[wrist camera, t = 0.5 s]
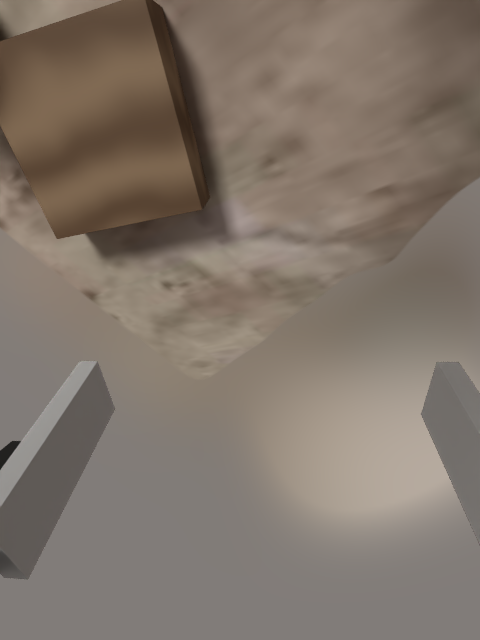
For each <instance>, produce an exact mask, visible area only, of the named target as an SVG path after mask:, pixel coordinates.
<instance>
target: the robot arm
mask: <svg viewBox="0 0 480 640" xmlns="http://www.w3.org/2000/svg"><path fill="white" fill-rule="evenodd" d="M114 410H115V407H114V405H113V402H112V399H111V396H110V394H109V391H108V388H107V386H106V383H105V380H104V378H103V375H102V372H101V369H100V367H99V364H98V362H97V361H80V362H79V363H78V364H77V366H76V367H75V369H74V370H73V372H72V373H71V374H70V375H69V377H68V378H67V380H66V381H65V382H64V384H63V385H62V386H61V388H60V389H59V391H58V392H57V393H56V395H55V396H54V397H53V399H52V400H51V401H50V403H49V404H48V406H47V407H46V409H45V410H44V411H43V413H42V414H41V415H40V417H39V418H38V419H37V421H36V422H35V423H34V425H33V426H32V427H31V429H30V430H29V432H28V433H27V434H26V436H25V437H24V438H23V440H22V441H12V442H10V443H9V444H8V445H7V446H5V447H4V448H3V449H2V450H1V451H0V574H1V575H2V576H3V577H4V578H17V579H28V578H29V577H30V575H31V572H32V571H33V569H34V566H35V565H36V563H37V561H38V559H39V557H40V555H41V553H42V551H43V549H44V547H45V545H46V543H47V541H48V539H49V537H50V535H51V533H52V531H53V529H54V528H55V526H56V524H57V521H58V520H59V518H60V516H61V514H62V512H63V510H64V508H65V506H66V504H67V502H68V500H69V498H70V496H71V494H72V492H73V490H74V488H75V486H76V484H77V482H78V481H79V479H80V477H81V475H82V473H83V471H84V469H85V467H86V465H87V463H88V461H89V459H90V457H91V455H92V453H93V451H94V449H95V447H96V445H97V443H98V441H99V439H100V437H101V435H102V434H103V431H104V430H105V428H106V426H107V424H108V422H109V420H110V418H111V416H112V414H113V412H114ZM421 415H422V418H423V420H424V422H425V424H426V426H427V428H428V431H429V433H430V435H431V438H432V440H433V442H434V444H435V446H436V449H437V451H438V453H439V455H440V457H441V460H442V462H443V464H444V467H445V469H446V471H447V473H448V475H449V478H450V480H451V482H452V484H453V487H454V489H455V491H456V493H457V495H458V498H459V500H460V502H461V505H462V507H463V509H464V511H465V514H466V516H467V518H468V520H469V522H470V525H471V527H472V529H473V531H474V533H475V536H476V538H477V540H478V543H479V545H480V393H479V391H478V390H477V388H476V387H475V385H474V384H473V382H472V381H471V379H470V378H469V376H468V375H467V374H466V372H465V371H464V369H463V368H462V366H461V365H460V363H459V362H437V363H436V366H435V370H434V373H433V377H432V380H431V383H430V386H429V390H428V393H427V396H426V400H425V403H424V407H423V410H422V413H421Z"/></svg>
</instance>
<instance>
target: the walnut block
mask: <svg viewBox="0 0 480 640" xmlns="http://www.w3.org/2000/svg"><path fill="white" fill-rule="evenodd" d="M0 126H1V128H2V130H3V132H4V134H5V136H6V138H7V140H8V142H9V144H10V146H11V148H12V150H13V152H14V154H15V156H16V158H17V160H18V162H19V164H20V166H21V168H22V170H23V172H24V174H25V176H26V178H27V180H28V182H29V184H30V186H31V188H32V190H33V192H34V194H35V196H36V198H37V200H38V202H39V204H40V206H41V208H42V210H43V212H44V214H45V216H46V218H47V220H48V222H49V224H50V226H51V228H52V230H53V232H54V234H55V236H56V238H57V239H60V238H65V237H70V236H74V235H79V234H84V233H89V232H94V231H99V230H104V229H109V228H114V227H119V226H124V225H129V224H134V223H138V222H143V221H148V220H153V219H158V218H163V217H168V216H173V215H178V214H183V213H188V212H193V211H198V210H202V209H203V207H204V206H205V204H206V203H207V201H208V200H209V198H210V195H209V191H208V187H207V183H206V179H205V175H204V171H203V167H202V163H201V159H200V155H199V151H198V147H197V143H196V140H195V136H194V132H193V128H192V124H191V120H190V116H189V112H188V108H187V104H186V100H185V96H184V92H183V88H182V84H181V80H180V76H179V73H178V69H177V65H176V61H175V57H174V53H173V49H172V45H171V41H170V37H169V33H168V29H167V25H166V21H165V17H164V13H163V9H162V7H161V6H160V5H158V4H157V3H156V2H154V1H153V0H121V1H118V2H115V3H112V4H110V5H107V6H104V7H101V8H98V9H95V10H92V11H89V12H86V13H83V14H80V15H77V16H74V17H71V18H68V19H65V20H62V21H59V22H56V23H53V24H50V25H47V26H44V27H41V28H38V29H35V30H32V31H29V32H26V33H23V34H20V35H17V36H14V37H11V38H9V39H6V40H3V41H0Z"/></svg>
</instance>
